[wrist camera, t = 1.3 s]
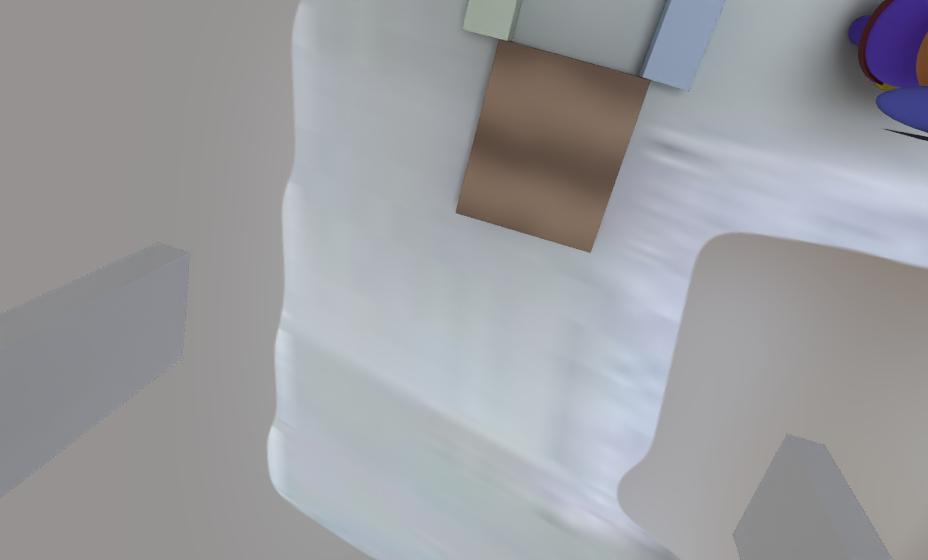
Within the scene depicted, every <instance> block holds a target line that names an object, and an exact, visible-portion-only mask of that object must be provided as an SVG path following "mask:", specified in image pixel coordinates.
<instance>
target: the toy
mask: <svg viewBox="0 0 928 560" xmlns="http://www.w3.org/2000/svg"><path fill="white" fill-rule="evenodd" d="M849 38H850V40H851V42H853V43H854V44H856V45H859V48H858V57H859V63H860V66H861V69H862V71H863V72H864V74H865V75H866V76H867V77H868V78H869V79H870V80H871V81H873V82H875V85H877V86H878V87H879V88H881V89H883V90H887V91H886V92H884V93H882V94H880V95H879V96H878V97H877V99H876V104H877V106H878V108H879V109H880V110H881V111H882V112H883V113H884V114H886V115H888V116H889V117H891V118H892V119H894V120H896V121H898V122H900V123H903V124H905V125H907V126H910V127H912V128H915V129H918V130H921V131H924V132H927V133H928V0H885V1H884V2H883V3H882V4H881V5H880V6H879V7H878V8H877V9H876V10H875V12H874V13H873V15H872V16H863V17H860V18H858V19H856V20H855V21H854V22H853V23H852V25H851V26H850V28H849ZM885 130H888V129H885ZM889 131H892V132H896V133H900V134H903V135H907V136H911V137H914V138H918V139H921V140H926V141H928V137H926V136H920V135H915V134H909V133H904V132H899V131H893V130H889Z"/></svg>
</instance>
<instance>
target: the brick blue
mask: <svg viewBox="0 0 928 560" xmlns="http://www.w3.org/2000/svg"><path fill="white" fill-rule="evenodd" d="M725 1H726V0H667V1H666V4H665V6H664V9H663V12H662V14H661V17H660V20H659V23H658V25H657V28H656V31H655V33H654V36H653V39H652V41H651V44H650V47H649V49H648V52H647V55H646V58H645V60H644V63H643V66H642V68H641V71H640V74H639V76H641V77H643V78H647V79H650V80H653V81H656V82H660V83H663V84H666V85H670V86H673V87H676V88H679V89H683V90H686V91H689V89H690V87H691V84H692V82H693V79H694V77H695V74H696V72H697V70H698V67H699V65H700V62H701V60H702V57H703V55H704V52H705V50H706V47H707V45H708V42H709V40H710V37H711V35H712V33H713V30H714V28H715V25H716V23H717V20H718V18H719V15H720V13H721V10H722V8H723V5H724V3H725Z"/></svg>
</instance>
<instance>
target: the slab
mask: <svg viewBox="0 0 928 560" xmlns="http://www.w3.org/2000/svg"><path fill="white" fill-rule="evenodd" d="M650 81H651V80H649V79H646V78H643V77H639V76H635V75H632V74H628V73H624V72H621V71H617V70H613V69H610V68H606V67H602V66H599V65H595V64H591V63H587V62H584V61H580V60H576V59H573V58H569V57H565V56H562V55H558V54H554V53H551V52H547V51H543V50H540V49H536V48H532V47H529V46H525V45H521V44H517V43H514V42H510V41H506V40H501V39H499V43H498V47H497V51H496V55H495V59H494V63H493V67H492V71H491V75H490V79H489V83H488V87H487V91H486V95H485V99H484V103H483V106H482V110H481V114H480V118H479V122H478V126H477V130H476V134H475V138H474V142H473V146H472V150H471V154H470V158H469V162H468V166H467V170H466V174H465V178H464V182H463V186H462V190H461V194H460V197H459V201H458V205H457V209H456V213H458V214H461V215H465V216H468V217H471V218H475V219H478V220H481V221H485V222H488V223H492V224H495V225H498V226H502V227H505V228H508V229H512V230H515V231H519V232H522V233H525V234H529V235H532V236H535V237H539V238H542V239H546V240H549V241H552V242H556V243H559V244H562V245H566V246H569V247H573V248H576V249H579V250H583V251H586V252H589V253H590V252H591V250H592V247H593V244H594V241H595V238H596V235H597V232H598V230H599V227H600V224H601V221H602V218H603V215H604V212H605V210H606V207H607V204H608V201H609V198H610V195H611V192H612V190H613V187H614V184H615V181H616V178H617V175H618V172H619V170H620V167H621V164H622V161H623V158H624V155H625V152H626V150H627V147H628V144H629V141H630V138H631V135H632V132H633V130H634V127H635V124H636V121H637V118H638V115H639V112H640V110H641V107H642V104H643V101H644V98H645V95H646V92H647V90H648V87H649V84H650Z"/></svg>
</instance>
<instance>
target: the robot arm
mask: <svg viewBox="0 0 928 560" xmlns="http://www.w3.org/2000/svg"><path fill="white" fill-rule="evenodd" d="M189 258H190V252H188V251H185V250H182V249H179V248H175V247H172V246H169V245H166V244H162V243H159V242H157V243H155V244H153V245H151V246H149V247H147V248H144V249H142V250H140V251H138V252H136V253H133V254H131V255H129V256H127V257H125V258H122V259H120V260H118V261H116V262H114V263H111V264H109V265H107V266H105V267H103V268H100V269H98V270H96V271H94V272H92V273H90V274H87V275H85V276H83V277H81V278H79V279H76V280H74V281H72V282H70V283H68V284H65V285H63V286H61V287H59V288H57V289H54V290H52V291H51V292H48V293H46V294H44V295H41V296H39V297H37V298H35V299H32V300H30V301H28V302H26V303H24V304H22V305H19V306H17V307H15V308H13V309H11V310H8V311H6V312H4V313H2V314H0V498H1V497H3V496H4V495H6V494H7V493H8V492H9V491H10V490H12V489H13V488H15V487H16V486H17V485H18V484H20V483H21V482H22V481H24V480H25V479H26V478H27V477H29V476H30V475H31V474H33V473H34V472H35V471H37V470H38V469H39V468H41V467H42V466H43V465H44V464H46V463H47V462H48V461H50V460H51V459H52V458H54V457H55V456H56V455H57V454H59V453H60V452H61V451H63V450H64V449H65V448H67V447H68V446H69V445H70V444H72V443H73V442H74V441H76V440H77V439H78V438H80V437H81V436H82V435H83V434H85V433H86V432H87V431H88V430H90V429H91V428H93V427H94V426H95V425H96V424H98V423H99V422H100V421H102V420H103V419H104V418H106V417H107V416H108V415H109V414H111V413H112V412H113V411H115V410H116V409H117V408H118V407H120V406H121V405H122V404H123V403H125V402H126V401H128V400H129V399H130V398H131V397H133V396H134V395H135V394H137V393H138V392H139V391H140V390H142V389H143V388H144V387H146V386H147V385H148V384H150V383H151V382H152V381H154V380H155V379H156V378H157V377H159V376H160V375H161V374H163V373H164V372H165V371H166V370H168V369H169V368H170V367H172V366H173V365H174V364H176V363H177V362H178V361H179V360H181V359H182V358H183V347H184V332H185V318H186V302H187V288H188V273H189ZM733 537H734V540H735V544H736V547H737V550H738V554H739V557H740V560H893V559H892V557H891V555H890V554H889V552H888V550H887V549H886V547H885V545H884V543H883V542H882V540H881V538H880V537H879V535H878V534H877V532H876V530H875V528H874V527H873V525H872V523H871V522H870V520H869V518H868V517H867V515H866V513H865V511H864V510H863V508H862V506H861V505H860V503H859V502H858V500H857V498H856V496H855V495H854V493H853V491H852V490H851V488H850V486H849V485H848V483H847V481H846V480H845V478H844V476H843V474H842V473H841V471H840V469H839V468H838V466H837V464H836V463H835V461H834V459H833V458H832V456H831V454H830V453H829V451H828V449H827V448H826V446H825V445H823V444H820V443H817V442H813V441H810V440H807V439H804V438H800V437H797V436H793V435H790V434H787V435H786V436H785V438H784V440H783V442H782V444H781V445H780V447H779V449H778V451H777V453H776V455H775V457H774V459H773V461H772V462H771V464H770V466H769V468H768V470H767V471H766V473H765V475H764V477H763V479H762V481H761V483H760V484H759V486H758V488H757V490H756V492H755V494H754V496H753V497H752V499H751V501H750V503H749V505H748V507H747V509H746V511H745V512H744V514H743V516H742V518H741V520H740V522H739V524H738V525H737V527H736V529H735V531H734V533H733Z"/></svg>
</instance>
